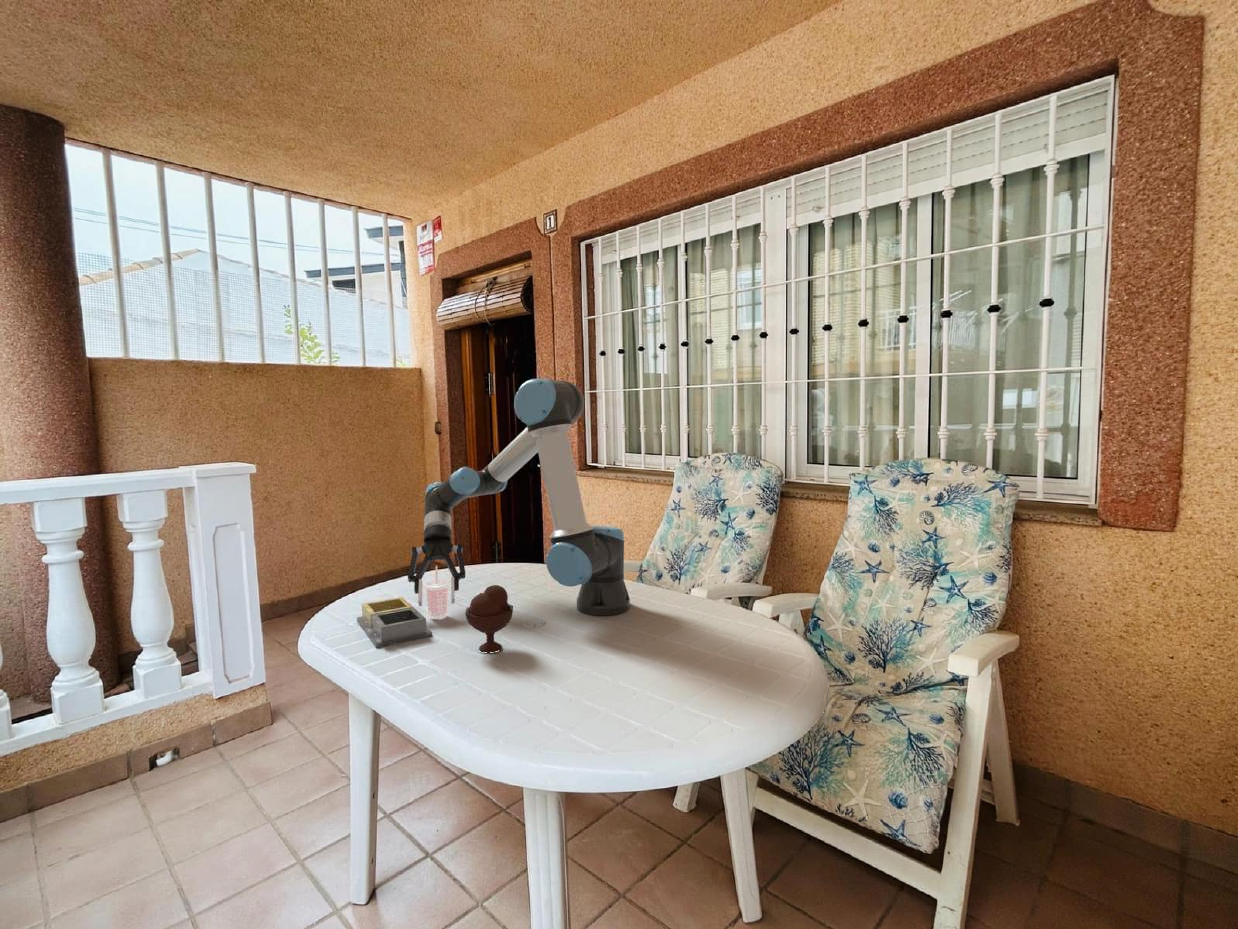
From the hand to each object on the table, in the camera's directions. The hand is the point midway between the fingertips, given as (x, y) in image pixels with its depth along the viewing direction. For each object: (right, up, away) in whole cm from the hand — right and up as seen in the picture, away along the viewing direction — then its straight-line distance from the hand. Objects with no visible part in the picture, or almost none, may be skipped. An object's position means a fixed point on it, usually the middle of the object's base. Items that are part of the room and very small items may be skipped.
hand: (436, 602), depth 152 cm
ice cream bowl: (+18, -7, -18) cm, 27 cm away
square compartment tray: (-10, -5, -5) cm, 12 cm away
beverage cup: (-1, -5, +4) cm, 6 cm away
